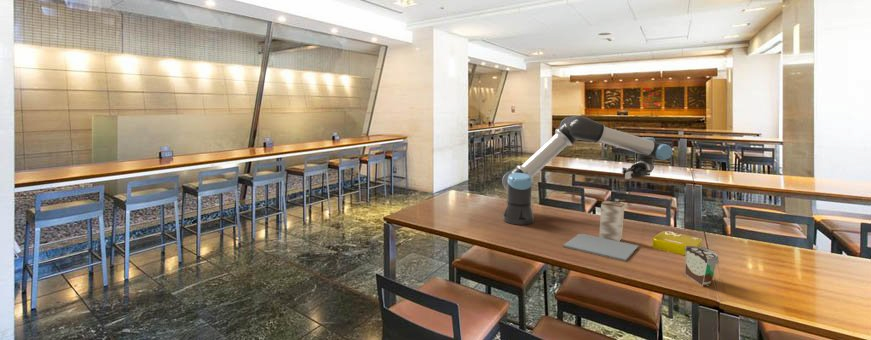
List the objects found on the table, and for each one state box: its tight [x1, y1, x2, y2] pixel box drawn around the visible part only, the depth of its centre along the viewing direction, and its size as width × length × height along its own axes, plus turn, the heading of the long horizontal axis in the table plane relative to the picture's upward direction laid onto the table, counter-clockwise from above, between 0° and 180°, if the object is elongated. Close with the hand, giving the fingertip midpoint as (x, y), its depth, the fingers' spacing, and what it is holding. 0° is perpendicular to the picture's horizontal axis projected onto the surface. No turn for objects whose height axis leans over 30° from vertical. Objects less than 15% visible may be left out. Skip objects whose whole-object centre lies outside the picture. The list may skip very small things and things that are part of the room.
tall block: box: [598, 200, 626, 242], centre depth 169 cm, size 8×5×16 cm, turn 50°
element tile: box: [651, 230, 704, 256], centre depth 159 cm, size 15×15×5 cm
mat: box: [562, 232, 639, 263], centre depth 160 cm, size 24×19×1 cm
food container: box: [684, 246, 720, 287], centre depth 129 cm, size 12×6×10 cm, turn 179°
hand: (627, 176), depth 180 cm, fingers closed
